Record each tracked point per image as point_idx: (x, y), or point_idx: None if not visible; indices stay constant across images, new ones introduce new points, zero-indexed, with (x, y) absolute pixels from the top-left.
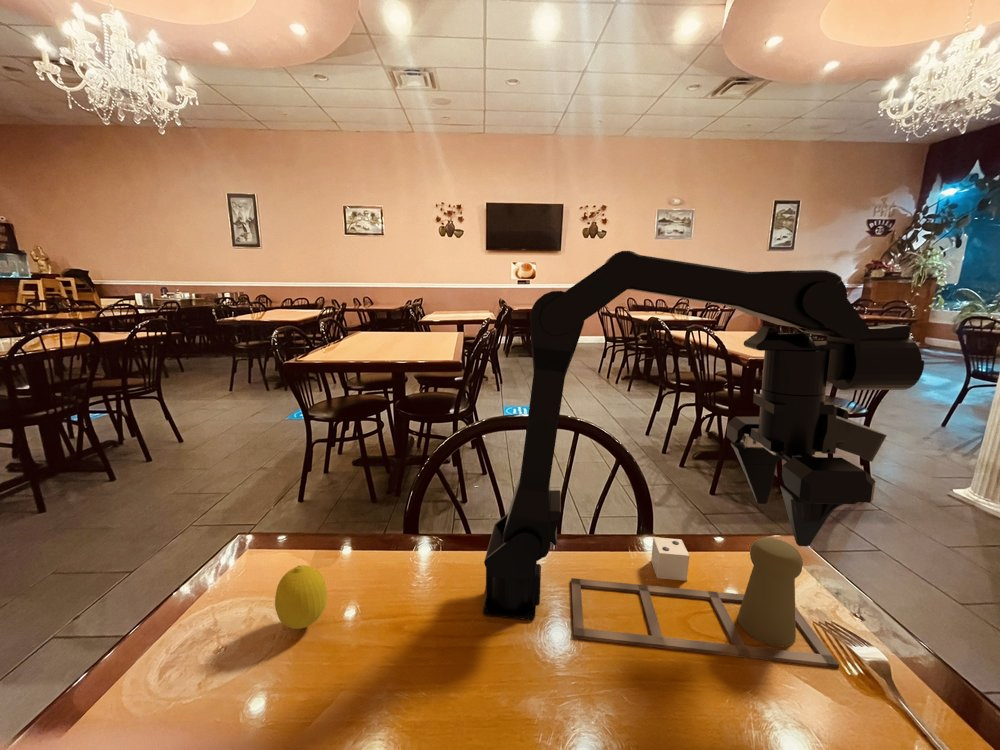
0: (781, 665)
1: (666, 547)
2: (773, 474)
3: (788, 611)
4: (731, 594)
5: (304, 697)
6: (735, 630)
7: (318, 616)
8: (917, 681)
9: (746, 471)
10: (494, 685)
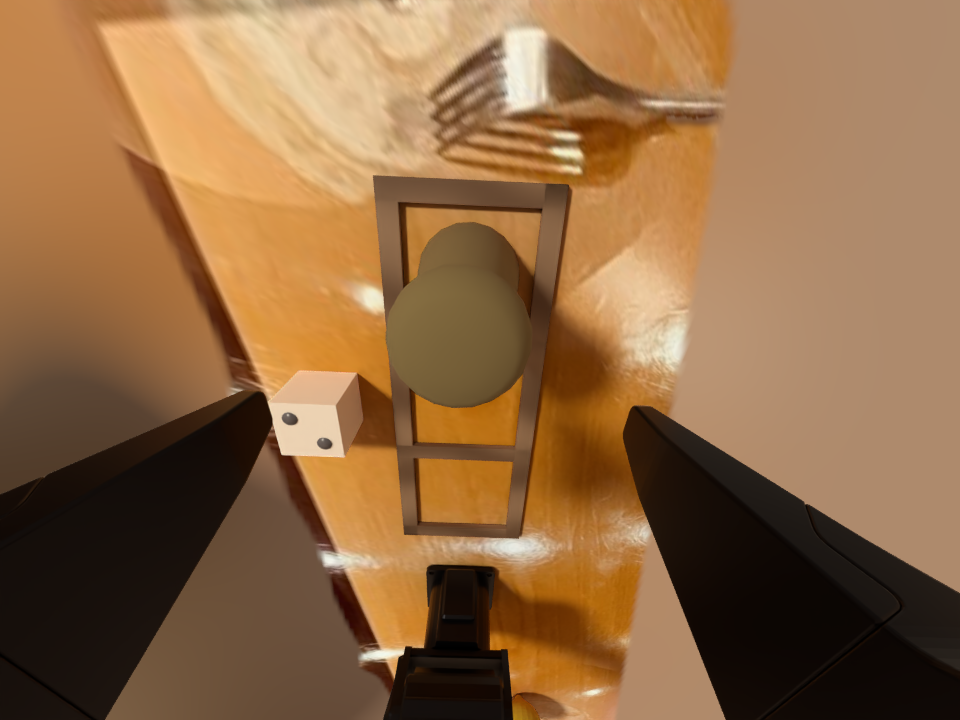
0: (560, 294)
1: (318, 441)
2: (75, 513)
3: (513, 278)
4: (388, 308)
5: (588, 677)
6: None
7: (526, 710)
8: (605, 2)
9: (147, 644)
10: (582, 590)
